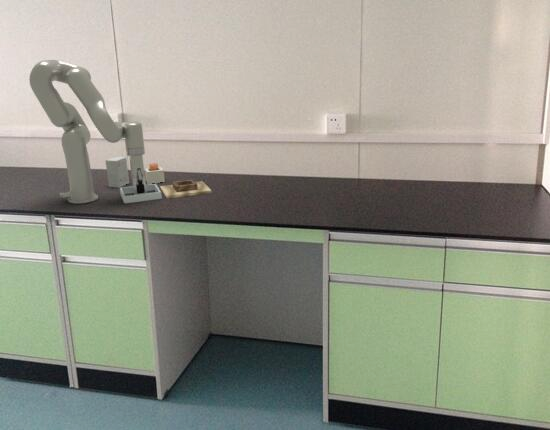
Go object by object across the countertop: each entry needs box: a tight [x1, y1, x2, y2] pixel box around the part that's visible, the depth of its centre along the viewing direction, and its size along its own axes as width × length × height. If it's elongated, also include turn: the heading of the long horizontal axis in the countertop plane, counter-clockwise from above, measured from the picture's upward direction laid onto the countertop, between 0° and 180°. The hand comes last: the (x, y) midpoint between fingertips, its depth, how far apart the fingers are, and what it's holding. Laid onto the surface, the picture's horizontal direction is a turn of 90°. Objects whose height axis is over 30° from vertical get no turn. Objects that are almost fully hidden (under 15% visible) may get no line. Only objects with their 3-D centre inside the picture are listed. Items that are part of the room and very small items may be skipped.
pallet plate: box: [159, 178, 212, 200], centre depth 250 cm, size 20×18×4 cm
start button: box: [148, 162, 159, 171], centre depth 266 cm, size 4×4×3 cm
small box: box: [104, 156, 130, 189], centre depth 262 cm, size 8×6×13 cm
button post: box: [144, 166, 165, 185], centre depth 267 cm, size 8×8×6 cm
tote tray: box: [119, 183, 163, 204], centre depth 243 cm, size 16×16×3 cm
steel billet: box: [131, 174, 148, 195], centre depth 242 cm, size 5×5×10 cm
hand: (140, 191), depth 243 cm, fingers closed on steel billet, 5 cm apart
